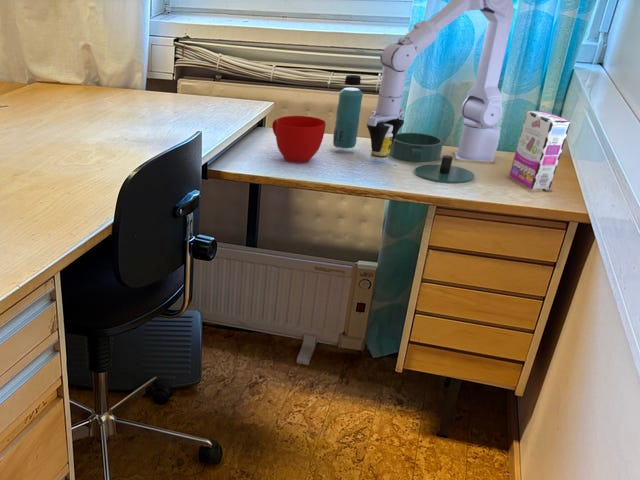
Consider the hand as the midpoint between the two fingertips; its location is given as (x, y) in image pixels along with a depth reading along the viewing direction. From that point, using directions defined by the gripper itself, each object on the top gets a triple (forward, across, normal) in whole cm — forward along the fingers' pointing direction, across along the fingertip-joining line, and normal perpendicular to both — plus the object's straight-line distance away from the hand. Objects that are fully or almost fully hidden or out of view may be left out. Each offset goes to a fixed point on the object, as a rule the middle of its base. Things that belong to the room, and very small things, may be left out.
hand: (381, 149), depth 186 cm
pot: (+4, -12, +3) cm, 13 cm away
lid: (+3, -2, +17) cm, 18 cm away
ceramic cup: (+4, +12, -19) cm, 23 cm away
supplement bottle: (+2, 0, 0) cm, 2 cm away
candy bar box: (+4, -12, +35) cm, 37 cm away
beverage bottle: (+4, -4, -14) cm, 15 cm away
